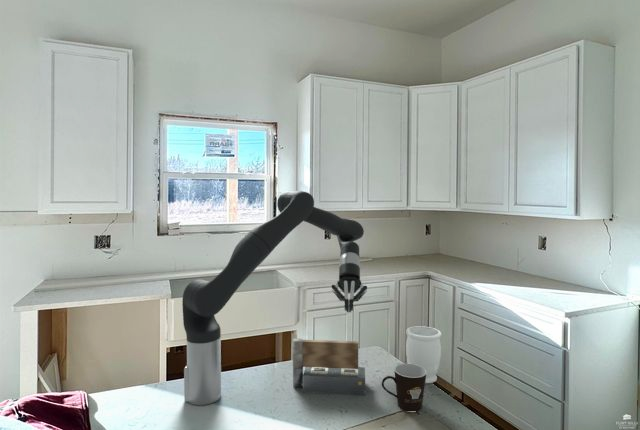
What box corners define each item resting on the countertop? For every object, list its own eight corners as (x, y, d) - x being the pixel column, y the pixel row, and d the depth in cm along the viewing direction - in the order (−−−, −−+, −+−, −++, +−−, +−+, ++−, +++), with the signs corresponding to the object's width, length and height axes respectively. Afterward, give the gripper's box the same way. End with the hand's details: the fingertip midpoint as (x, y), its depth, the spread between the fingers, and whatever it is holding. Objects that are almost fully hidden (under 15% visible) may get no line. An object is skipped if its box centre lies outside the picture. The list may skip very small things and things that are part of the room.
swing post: (292, 388, 116) (292, 368, 116) (293, 383, 119) (293, 364, 119) (302, 388, 116) (302, 368, 116) (303, 383, 119) (303, 364, 119)
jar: (405, 383, 120) (405, 335, 119) (406, 368, 130) (406, 324, 129) (441, 387, 117) (442, 338, 116) (439, 372, 127) (440, 327, 126)
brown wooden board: (291, 367, 116) (291, 342, 116) (293, 363, 119) (293, 338, 119) (358, 370, 114) (358, 344, 114) (358, 365, 117) (358, 340, 117)
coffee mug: (426, 400, 110) (426, 365, 109) (425, 417, 101) (426, 379, 101) (384, 394, 113) (384, 360, 112) (380, 410, 105) (381, 373, 104)
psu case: (302, 392, 114) (302, 374, 113) (305, 380, 121) (306, 364, 121) (365, 395, 112) (365, 377, 112) (364, 383, 119) (364, 366, 119)
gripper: (330, 261, 140) (328, 305, 128) (368, 262, 138) (369, 306, 127) (331, 273, 145) (329, 316, 134) (367, 274, 144) (368, 317, 132)
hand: (348, 311), depth 130 cm, fingers closed
